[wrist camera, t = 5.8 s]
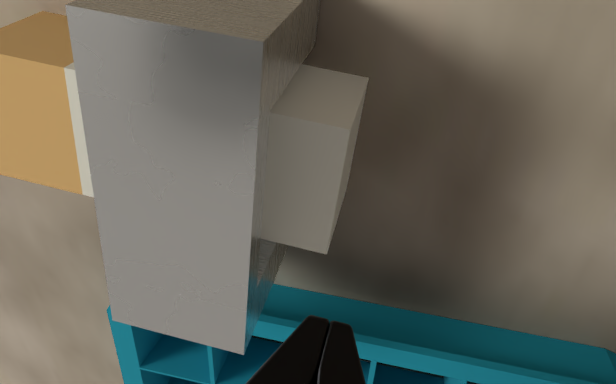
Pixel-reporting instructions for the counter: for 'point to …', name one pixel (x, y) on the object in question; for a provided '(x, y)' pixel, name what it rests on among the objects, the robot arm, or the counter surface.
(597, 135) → the counter surface
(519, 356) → the ice cube tray
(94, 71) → the gray rectangular block
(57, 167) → the tan-tipped white bar
